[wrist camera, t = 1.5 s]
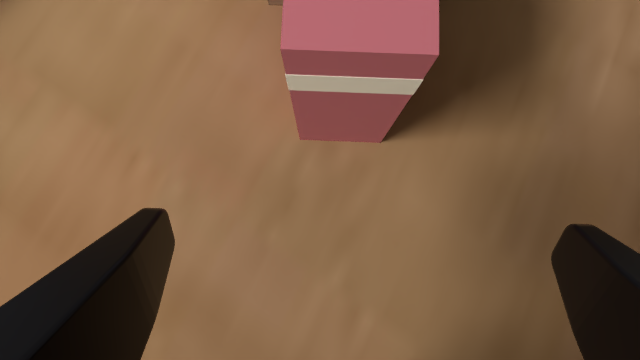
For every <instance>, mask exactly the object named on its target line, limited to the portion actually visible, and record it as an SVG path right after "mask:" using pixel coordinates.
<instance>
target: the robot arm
mask: <svg viewBox="0 0 640 360" xmlns="http://www.w3.org/2000/svg"><path fill="white" fill-rule="evenodd" d="M174 246H175V239H174V235H173V231H172V227H171V224H170V220H169V216H168V213H167V212H166V210H165V209H162V208H144V209H142V210H140V211H138V212H137V213H136V214H134V215H133V216H131V217H130V218H128V219H127V220H125V221H124V222H122V223H121V224H120V225H118V226H117V227H115V228H114V229H112V230H111V231H109V232H108V233H107V234H105V235H104V236H102V237H101V238H99V239H98V240H96V241H95V242H93V243H92V244H91V245H89V246H88V247H86V248H85V249H83V250H82V251H80V252H79V253H78V254H76V255H75V256H73V257H72V258H70V259H69V260H67V261H66V262H64V263H63V264H62V265H60V266H59V267H57V268H56V269H54V270H53V271H51V272H50V273H49V274H47V275H46V276H44V277H43V278H41V279H40V280H38V281H37V282H35V283H34V284H33V285H31V286H30V287H28V288H27V289H25V290H24V291H22V292H21V293H19V294H18V295H17V296H15V297H14V298H12V299H11V300H9V301H8V302H6V303H5V304H4V305H2V306H1V307H0V360H141V357H142V354H143V352H144V349H145V347H146V344H147V341H148V339H149V336H150V333H151V331H152V328H153V325H154V322H155V320H156V316H157V313H158V309H159V306H160V302H161V298H162V294H163V290H164V286H165V283H166V279H167V275H168V271H169V267H170V263H171V259H172V255H173V251H174ZM551 261H552V266H553V269H554V273H555V276H556V279H557V283H558V286H559V289H560V292H561V296H562V299H563V302H564V306H565V309H566V312H567V315H568V319H569V322H570V325H571V328H572V331H573V334H574V336H575V339H576V341H577V344H578V346H579V349H580V351H581V353H582V356H583V358H584V360H640V254H639V253H637V252H636V251H634V250H633V249H631V248H629V247H628V246H626V245H625V244H623V243H621V242H620V241H618V240H616V239H615V238H613V237H612V236H610V235H608V234H607V233H605V232H604V231H602V230H600V229H599V228H597V227H595V226H593V225H589V224H570V225H568V226H567V227H566V228H565V230H564V231H563V233H562V235H561V237H560V239H559V241H558V242H557V244H556V246H555V248H554V250H553V252H552V256H551Z"/></svg>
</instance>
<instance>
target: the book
mask: <svg viewBox="0 0 640 360" xmlns="http://www.w3.org/2000/svg"><path fill="white" fill-rule="evenodd" d="M281 54H282V58H283V63H284V67H285V76H286V80H287V85H288V89H289V91H290V95H291V100H292V104H293V109H294V114H295V118H296V123H297V127H298V132H299V137H300V140H324V141H351V142H377V143H381V141H382V140H383V138H384V137H385V135H386V134H387V132H388V131H389V129H390V128H391V126H392V125H393V123H394V122H395V120H396V119H397V117H398V116H399V114H400V113H401V111H402V110H403V108H404V107H405V105H406V104H407V102H408V101H409V99H410V98H411V96H412V95H414V93H415V92H416V90H417V89H418V87H419V86H420V84H421V83H422V81H423V78H424V77H425V75H426V74H427V72H428V71H429V69H430V68H431V66H432V65H433V63H434V62H435V60H436V59H437V57H438V56H439V0H283V13H282V31H281Z"/></svg>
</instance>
